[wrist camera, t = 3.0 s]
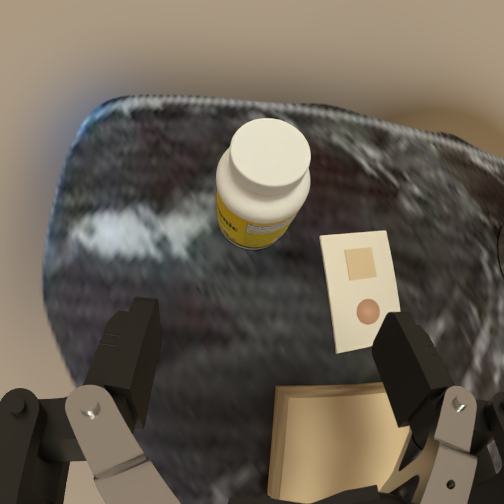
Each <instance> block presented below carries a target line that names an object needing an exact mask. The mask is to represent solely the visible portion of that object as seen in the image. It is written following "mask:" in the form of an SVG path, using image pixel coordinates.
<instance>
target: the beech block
mask: <svg viewBox="0 0 504 504" xmlns="http://www.w3.org/2000/svg"><path fill="white" fill-rule="evenodd" d="M409 427H410V426H406V427H401V428H398V426H397V423H396V420H395V417H394V414H393V411H392V408H391V405H390V402H389V399H388V396H387V394H386V391H385V388H384V385H383V382H373V383H360V384H343V385H315V386H276V387H275V402H274V416H273V430H272V443H271V455H270V467H269V478H268V489H267V493H268V496H270V497H271V498H273V499H279V500H285V501H291V502H298V503H306V504H308V503H313V502H316V501H319V500H322V499H324V498H327V497H330V496H332V495H335V494H337V493H340V492H342V491H345V490H351V489H357V488H362V487H367V486H372V485H377V487H378V492H379V491H380V489H381V488H382V486H383V485H384V484H385V482H386V481H387V480H388V479H389V477H390V476H391V474H392V472H393V470H394V468H395V465H396V463H397V461H398V458H399V456H400V453H401V451H402V448H403V446H404V443H405V440H406V438H407V435H408V433H409Z"/></svg>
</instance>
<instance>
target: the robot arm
mask: <svg viewBox="0 0 504 504" xmlns="http://www.w3.org/2000/svg"><path fill="white" fill-rule="evenodd" d="M498 249H499V259H500V265H501V269H502V272H503V275H504V225H503V226H502V229H501V231H500V235H499V245H498ZM160 347H161V325H160V315H159V305H158V300H157V299H152V298H142V297H135V298H134V300H133V302H132V305H131V307H130V310H129V312H127V311H118V312H117V313H116V314H115V315H114V316H113V317H112V318H111V319H110V320H109V321H108V323H107V326H106V328H105V331H104V335H102V338H101V340H100V345H98V348H97V350H96V353H95V356H94V358H93V361H92V363H91V366H90V369H89V371H88V374H87V377H86V380H85V382H84V384H83V385H82V386H80V387H78V388H76V389H75V390H73V391H72V392H71V393H70V394H69V396H68V397H65V398H58V399H37V397H36V396H35V395H34V394H33V393H32V392H31V391H29V390H27V389H23V388H17V389H14V390H11V391H9V392H8V393H6V394H5V395H4V397H3V398H2V399H1V401H0V504H63V502H64V495H65V488H66V481H67V476H68V470H69V465H70V461H87V462H88V464H89V466H90V468H91V470H92V472H93V475H94V482H95V484H96V487H97V489H98V491H99V492H100V494H101V496H102V498H103V500H104V501H105V503H106V504H181V503H180V502H179V501H178V499H177V498H176V497H175V495H174V494H173V493H172V491H171V490H170V489H169V487H168V486H167V484H166V483H165V482H164V480H163V479H162V477H161V476H160V474H159V473H158V472H157V470H156V469H155V467H154V466H153V464H152V463H151V461H150V460H149V459H148V457H147V456H146V455H145V454H144V453H143V451H142V450H141V448H140V446H139V445H138V443H137V441H136V440H135V438H134V436H133V432H134V428H136V429H142V430H144V426H145V420H146V415H147V410H148V404H149V399H150V394H151V389H152V385H153V380H154V375H155V370H156V366H157V361H158V356H159V352H160ZM372 355H373V358H374V361H375V364H376V366H377V369H378V372H379V374H380V377H381V380H382V382H383V385H384V388H385V391H386V394H387V396H388V399H389V402H390V405H391V408H392V411H393V414H394V417H395V420H396V423H397V426H398V428H401V427H406V426H410V427H411V431H410V432H409V433H408V435H407V438H406V440H405V443H404V446H403V448H402V451H401V453H400V456H399V458H398V461H397V463H396V465H395V468H394V470H393V472H392V474H391V476H390V477H389V479H388V480H387V481H386V482H385V484H384V485H383V486H382V488H381V489H380V491H379V492H378V487H377V485H372V486H367V487H362V488H357V489H351V490H345V491H342V492H340V493H337V494H335V495H332V496H330V497H327V498H324V499H322V500H319V501H316V502H313V503H308V504H467V502H468V504H504V392H499V393H497V394H496V395H495V396H494V397H493V398H492V399H491V400H490V401H483V400H475V398H474V396H473V395H472V394H471V392H470V391H468V390H467V389H465V388H464V387H461V386H455V385H454V383H453V381H452V379H451V377H450V375H449V373H448V371H447V369H446V367H445V365H444V363H443V361H442V359H441V357H440V356H438V352H437V350H436V348H435V347H434V344H433V343H432V341H431V339H430V337H429V335H428V334H427V333H426V332H425V331H424V330H423V329H422V328H421V327H420V326H419V325H416V323H415V322H414V320H413V318H412V316H411V315H410V313H408V312H389V313H387V315H386V316H385V318H384V321H383V323H382V325H381V327H380V329H379V331H378V333H377V335H376V337H375V339H374V341H373V345H372ZM493 440H495V443H496V445H497V448H498V451H499V454H500V457H501V460H502V468H501V470H500V472H499V473H498V474H496V472H495V469H494V466H493V463H492V460H491V457H490V454H489V451H488V448H487V445H488V444H490V443H491V442H492V441H493ZM228 504H306V503H298V502H291V501H285V500H279V499H273V498H229V502H228Z"/></svg>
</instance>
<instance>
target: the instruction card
mask: <svg viewBox="0 0 504 504" xmlns="http://www.w3.org/2000/svg"><path fill="white" fill-rule="evenodd" d="M319 240H320V246H321V252H322V258H323V265H324V271H325V277H326V284H327V291H328V298H329V305H330V312H331V319H332V327H333V335H334V343H335V352H336V353H342V352H347V351H352V350H357V349H361V348H366V347H370V346H372V345H373V341H374V339H375V337H376V335H377V333H378V331H379V329H380V327H381V325H382V323H383V321H384V318H385V316H386V315H387V313H389V312H400V305H399V298H398V291H397V285H396V279H395V274H394V268H393V263H392V257H391V252H390V247H389V242H388V238H387V233H386V231H373V232H361V233H348V234H335V235H323V236H319Z"/></svg>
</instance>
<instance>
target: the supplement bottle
mask: <svg viewBox="0 0 504 504" xmlns="http://www.w3.org/2000/svg"><path fill="white" fill-rule="evenodd" d="M310 159H311V154H310V148H309V145H308V142H307V141H306V139H305V137H304V136H303V135H302V134H301V132H300V131H298V130H297V129H296V128H295V127H293V126H292V125H290V124H288V123H286V122H284V121H281V120H277V119H271V118H263V119H256V120H253V121H250V122H248V123H246V124H245V125H243V126H242V127H241V128H239V129H238V131H237V132H236V133H235V134H234V136H233V138H232V141H231V145H230V147H229V148H228V149H227V150H226V152H225V153H224V154H223V156H222V157H221V159H220V161H219V164H218V167H217V173H216V199H217V220H218V224H219V227H220V229H221V231H222V233H223V234H224V236H225V237H226V238H227V239H228V240H229V241H230V242H232V243H233V244H235V245H237V246H239V247H241V248H245V249H251V250H256V249H262V248H266V247H268V246H271V245H272V244H274V243H275V242H277V241H278V240H279V239H280V238H281V237H282V235H283V234H284V233H285V231H286V229H287V228H288V226H289V225H290V223H291V222H292V220H293V219H294V217H295V216H296V214H297V213H298V211H299V210H300V208H301V206H302V205H303V203H304V201H305V200H306V197H307V195H308V192H309V188H310V173H309V169H308V167H309V164H310Z"/></svg>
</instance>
